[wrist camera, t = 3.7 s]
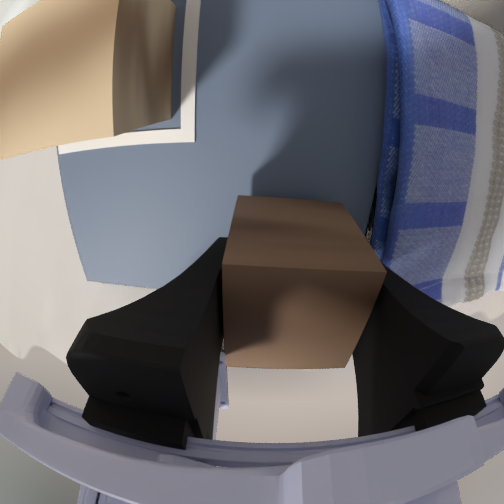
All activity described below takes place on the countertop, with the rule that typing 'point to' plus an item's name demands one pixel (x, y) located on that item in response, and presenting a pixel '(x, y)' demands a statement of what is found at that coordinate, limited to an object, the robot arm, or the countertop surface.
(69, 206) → the board
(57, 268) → the countertop surface
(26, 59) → the oak base block
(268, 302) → the walnut block
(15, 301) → the countertop surface
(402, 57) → the dish towel
